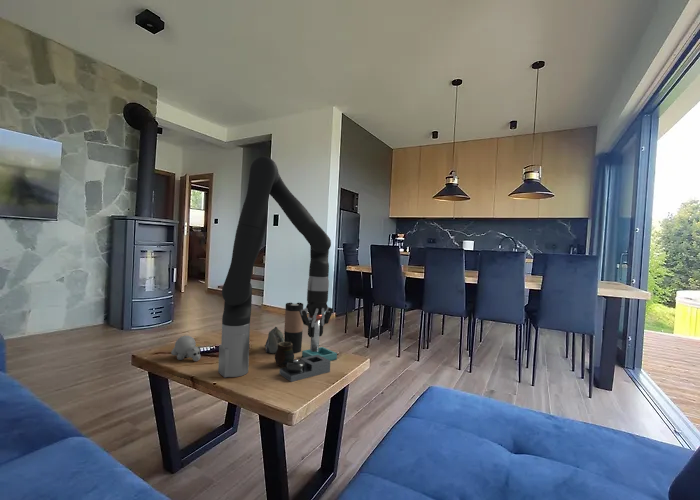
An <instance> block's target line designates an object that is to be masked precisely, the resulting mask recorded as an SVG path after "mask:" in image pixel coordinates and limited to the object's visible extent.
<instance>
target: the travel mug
mask: <svg viewBox="0 0 700 500" xmlns="http://www.w3.org/2000/svg"><path fill="white" fill-rule="evenodd" d="M303 309H304V303H302V302H297V303H293V302H286V303H285V308H284V310H285V311H284V312H285V313H284V333H283V336H284V342H290V341H291V342H290V343H292V344H293V347H292V349H293V352H294V354H298V353H301V352H302V348H303V347H302V343H303V329H304V324H303V321H302V318H301V315H300V312H299V311H300V310H303Z"/></svg>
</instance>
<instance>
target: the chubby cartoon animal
mask: <svg viewBox="0 0 700 500" xmlns="http://www.w3.org/2000/svg"><path fill="white" fill-rule="evenodd" d="M196 343H197V342H196V340H195V338H194V337H193V336H190V335H183V336H180V337H179V338H177V339H176V342H174V347H173V348H172V350H171V353H170V354H171V355H172V356H176V359H177V360H178V361H183V360H184V359H185V358H188V359H189V358H191V359H192V360H193V361H194V362H198V361H199V360H200V359H201V354H200V353H201V348H202V347H201V346H200V345H199V346H196V345H197V344H196Z"/></svg>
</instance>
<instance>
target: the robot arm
mask: <svg viewBox="0 0 700 500" xmlns="http://www.w3.org/2000/svg"><path fill="white" fill-rule="evenodd" d="M249 167H250V168H249V176H248V183H247V191H246V196H245V200H244V202H243V205H242V207H241V212H240V215H239V219H238V222H237V226H236V231H235V236H234V240H233V246H232V254H231V261H230V265H229V268H228V270H227V271H228V272H227V274H226V277H225V280H224V283H223V285H222V287H221V295H222V298H223V300H224V301H223V302H224V303H223V304H224V305H223V306H224V307H223V313H222V316H221V317H222V318H221V319H222V321H221V340H220V341H221V344H219V347H218V367H217V368H218V371H217V372H218V373H219V375H221V376H222V377H223V378H237V377H242V376H245V375H246V374H248V373H249V366H250V365H249V364H250V363H249V362H250V358H249V357H250V337H251V336H250V334H251V333H250V332H251V331H250V330H251V314H252V302H253V301H252V300H253V299H252V298H253V287H252V283H251V281H252V273H253V268H254V265H255V263H256V259H257V258H258V255H259V252H260V250H261V247H262V245H263V244H262V243H263V240H264V237H265V233H266V228H267V221H268V208H269V198H270V196H271V197H272V198H273V200H274V201H275V202H276V203H277V204H278V205H279V207H280V209H281V210H282V211H283V213H284V214H285V215H286V217H287V218H288V220H289V221H290V222H291V223H292V225H293V226H294V227H295V229H296V230H297V231H298V232H299V233H300V234H301V235H302V236H303V238H304V239H305V240H306V241H307V242H308V244H309V245H310V247H309V248H310V252H309V253H310V254H309V255H310V256H309V257H310V262H309V270H308V280H307V289H306V290H307V291H306V303H307V304H306V305H305V306H306V307H305V308H303V310H300V311H299V312H300V315H301V318H302V321H303V326H307V335H308V337H309V338H310V339H311V338H313V337H314V323H315V321H316V315H320V314H321V315H322V318H320V335H319V337H322V336H323V334H324V326H325V325H328V324H329V322H330V320H331V319H330V318H331V316H332V315H333V312H334V308H332V307H329V306H328V301H329V285H330V284H329V282H330V281H329V275H330V272H329V270H330V263H329V255H330V254H329V253H330V249H331V247H332V240H331V239H330V237H329V235H328V234H327V233H326V231H324V230H323V228H322V227H321V226H320V225H319V224H318V223H317V222H316V220H315V219H314V217H313V216H312V215H311V213H310V212H309V211H308V209H307V208H306V206H304V205H303V203H301V201H299V199H298V198H297V197H296V196H295V195H294V194H293V193H292V192H291V190H290V189H289V188H288V187H287V186H286V184H285V182H284V181H283V179H282V177H281V175H280V173H279V169H278V166H277V163H276V162H275V161H274V160H273V159H272V158H271V157H270V156H265V155H263V156H259V157H257V158H255V159H254V160H253V161H252V163H251V164H250V166H249ZM311 316H312V317H313V318H311Z"/></svg>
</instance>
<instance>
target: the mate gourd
mask: <svg viewBox="0 0 700 500" xmlns="http://www.w3.org/2000/svg"><path fill="white" fill-rule="evenodd" d="M290 342H291V341H290ZM290 342H280V343H278V349H277V351H276V353H274V361H275V363H276V365H277V366H278V367H280V368H284V367H287V362H288V361H291V360H294V359H295V353H294V352H293V349H292V347H293V344H292V343H290Z"/></svg>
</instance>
